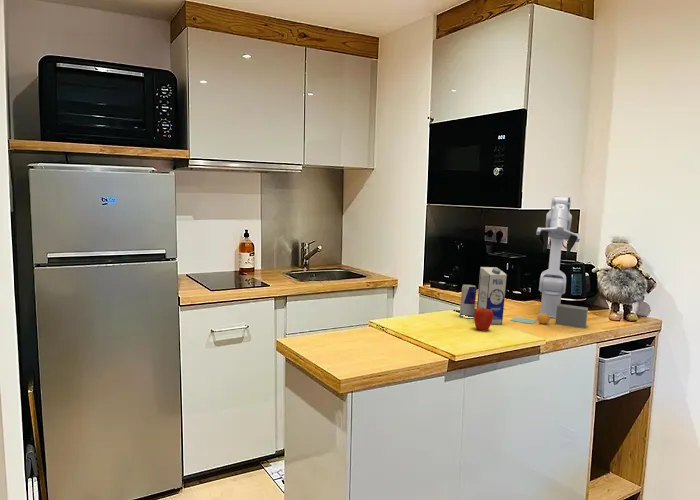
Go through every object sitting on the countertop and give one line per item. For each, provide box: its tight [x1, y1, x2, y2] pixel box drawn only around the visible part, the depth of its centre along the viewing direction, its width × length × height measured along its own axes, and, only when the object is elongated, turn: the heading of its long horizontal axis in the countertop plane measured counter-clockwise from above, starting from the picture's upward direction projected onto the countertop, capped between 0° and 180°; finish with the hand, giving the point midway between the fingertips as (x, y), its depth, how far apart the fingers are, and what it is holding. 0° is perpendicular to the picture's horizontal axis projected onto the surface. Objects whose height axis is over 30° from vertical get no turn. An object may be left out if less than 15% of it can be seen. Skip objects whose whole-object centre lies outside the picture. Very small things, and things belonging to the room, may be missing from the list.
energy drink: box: [459, 284, 477, 317], centre depth 196 cm, size 5×5×12 cm
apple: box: [473, 307, 493, 331], centre depth 177 cm, size 6×6×8 cm
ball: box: [537, 313, 550, 325], centre depth 193 cm, size 4×4×4 cm
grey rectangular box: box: [555, 303, 589, 329], centre depth 194 cm, size 6×10×7 cm, turn 62°
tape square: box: [510, 316, 537, 325], centre depth 197 cm, size 8×8×1 cm
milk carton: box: [476, 266, 508, 325], centre depth 189 cm, size 7×7×20 cm
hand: (556, 253), depth 182 cm, fingers open, 7 cm apart
